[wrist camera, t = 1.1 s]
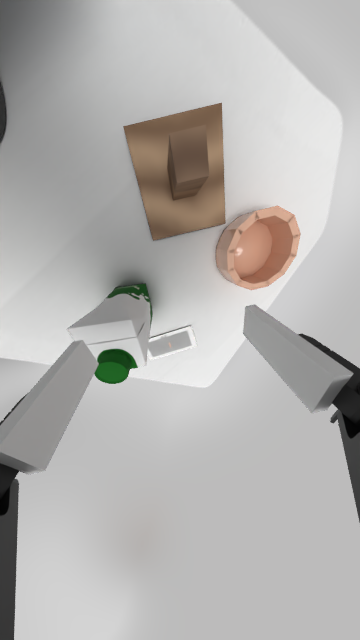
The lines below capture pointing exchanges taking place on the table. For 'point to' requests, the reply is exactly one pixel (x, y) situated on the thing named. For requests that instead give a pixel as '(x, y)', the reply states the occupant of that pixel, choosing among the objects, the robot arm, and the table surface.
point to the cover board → (157, 178)
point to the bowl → (258, 247)
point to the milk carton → (117, 332)
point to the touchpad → (171, 343)
